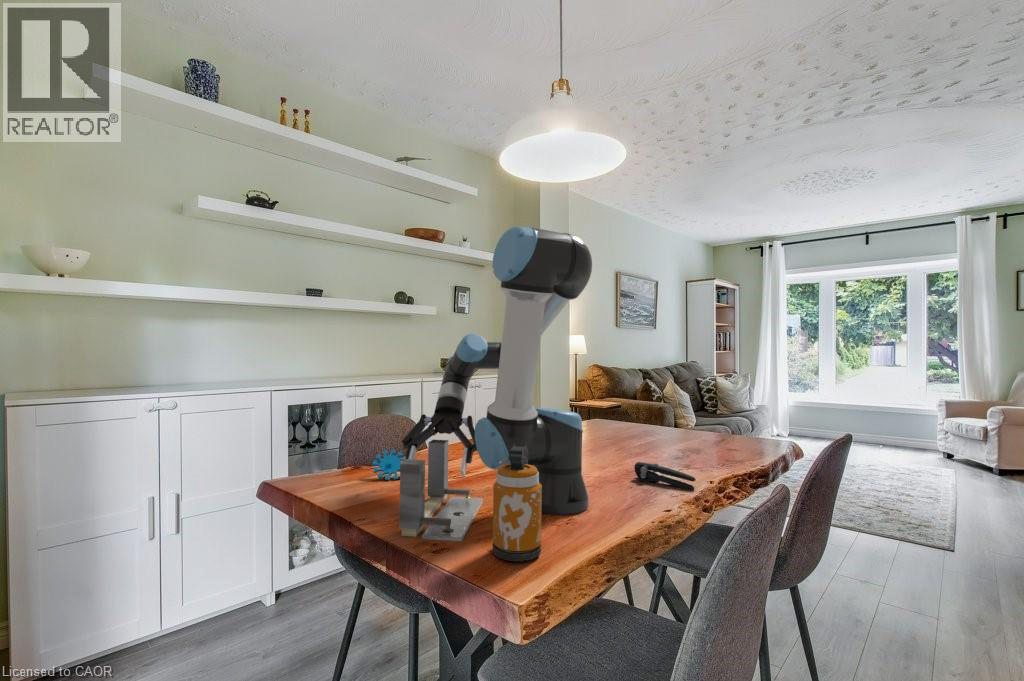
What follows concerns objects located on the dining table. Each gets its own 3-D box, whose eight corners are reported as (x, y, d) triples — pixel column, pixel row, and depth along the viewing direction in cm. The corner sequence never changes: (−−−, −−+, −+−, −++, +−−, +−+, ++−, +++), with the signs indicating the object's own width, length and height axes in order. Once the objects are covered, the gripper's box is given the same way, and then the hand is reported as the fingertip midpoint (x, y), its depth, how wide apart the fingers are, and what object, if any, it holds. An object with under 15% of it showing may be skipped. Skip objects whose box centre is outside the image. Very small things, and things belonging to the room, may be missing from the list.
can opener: (629, 481, 140) (629, 461, 141) (640, 476, 146) (640, 457, 146) (690, 494, 129) (690, 472, 129) (699, 488, 134) (699, 468, 134)
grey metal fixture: (433, 496, 123) (434, 439, 123) (472, 498, 122) (473, 440, 122) (399, 535, 97) (400, 463, 98) (447, 538, 96) (448, 465, 96)
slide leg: (432, 493, 122) (432, 439, 122) (471, 495, 121) (471, 440, 121) (427, 498, 118) (428, 442, 118) (468, 500, 117) (468, 444, 117)
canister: (488, 562, 86) (489, 449, 86) (499, 538, 97) (500, 438, 97) (538, 566, 84) (539, 452, 85) (544, 541, 95) (545, 440, 96)
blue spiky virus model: (369, 476, 135) (376, 446, 142) (369, 487, 139) (376, 457, 146) (408, 480, 137) (414, 450, 144) (407, 491, 141) (413, 461, 148)
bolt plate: (451, 499, 121) (451, 496, 121) (482, 501, 120) (483, 497, 120) (422, 539, 96) (422, 534, 96) (461, 541, 95) (461, 537, 95)
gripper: (496, 412, 133) (487, 483, 118) (409, 410, 136) (389, 478, 121) (494, 395, 128) (484, 466, 113) (403, 393, 131) (381, 462, 116)
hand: (435, 473), depth 117 cm, fingers open, 13 cm apart
